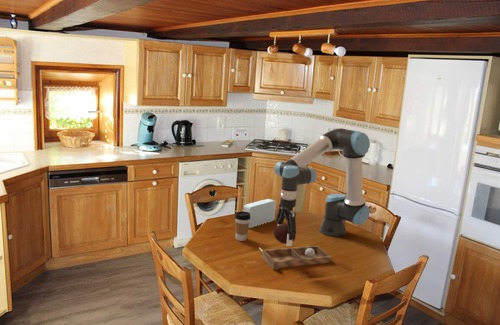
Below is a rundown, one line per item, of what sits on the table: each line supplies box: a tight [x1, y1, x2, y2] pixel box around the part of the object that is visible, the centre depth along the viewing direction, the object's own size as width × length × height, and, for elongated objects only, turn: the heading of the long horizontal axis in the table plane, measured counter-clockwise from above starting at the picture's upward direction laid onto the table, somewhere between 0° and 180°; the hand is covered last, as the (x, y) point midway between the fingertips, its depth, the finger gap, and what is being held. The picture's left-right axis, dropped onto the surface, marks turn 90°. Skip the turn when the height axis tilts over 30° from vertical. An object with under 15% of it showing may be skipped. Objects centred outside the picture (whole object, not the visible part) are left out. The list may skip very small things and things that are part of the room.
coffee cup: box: [234, 211, 250, 242], centre depth 243 cm, size 8×8×15 cm
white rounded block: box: [243, 198, 277, 229], centre depth 270 cm, size 23×6×13 cm, turn 136°
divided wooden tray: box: [261, 245, 332, 271], centre depth 221 cm, size 31×14×4 cm, turn 110°
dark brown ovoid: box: [273, 224, 297, 245], centre depth 216 cm, size 9×12×9 cm
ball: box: [305, 248, 315, 258], centre depth 224 cm, size 5×5×5 cm
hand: (284, 241), depth 217 cm, fingers closed on dark brown ovoid, 11 cm apart
